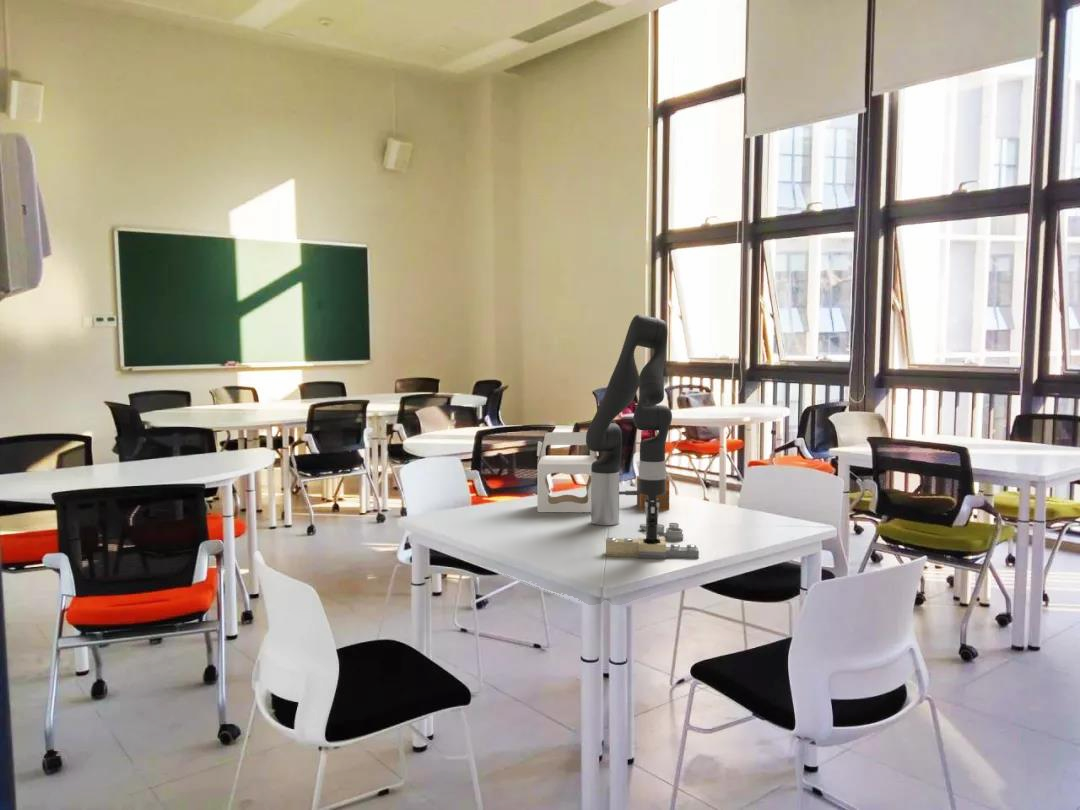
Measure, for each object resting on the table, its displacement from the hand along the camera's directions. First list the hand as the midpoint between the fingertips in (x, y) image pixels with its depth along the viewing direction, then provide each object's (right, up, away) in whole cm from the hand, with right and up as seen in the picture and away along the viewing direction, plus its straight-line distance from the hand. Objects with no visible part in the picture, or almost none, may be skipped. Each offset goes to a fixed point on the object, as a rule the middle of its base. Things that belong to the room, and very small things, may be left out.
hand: (651, 537), depth 226 cm
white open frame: (-21, -1, +66) cm, 69 cm away
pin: (0, -3, 0) cm, 3 cm away
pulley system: (+5, -4, +21) cm, 22 cm away
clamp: (+5, -1, +69) cm, 69 cm away
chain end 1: (-4, -5, +1) cm, 7 cm away
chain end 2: (+4, -5, 0) cm, 7 cm away
